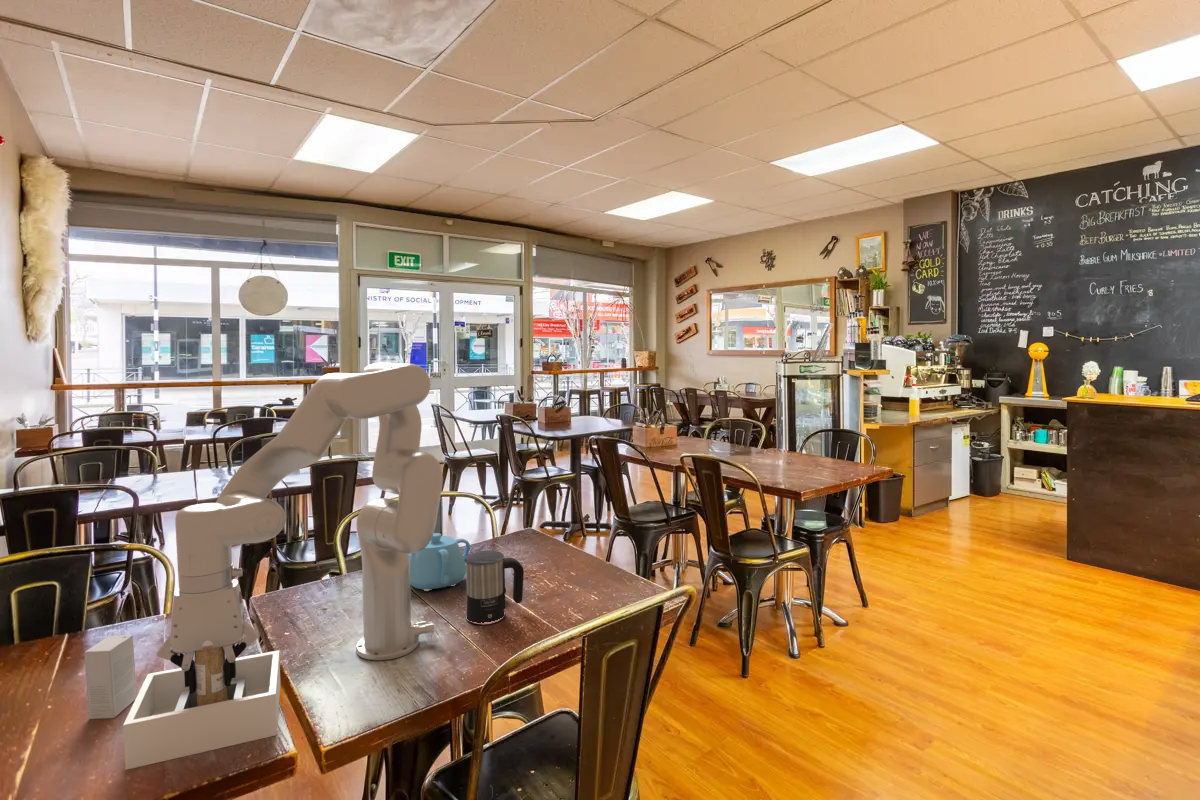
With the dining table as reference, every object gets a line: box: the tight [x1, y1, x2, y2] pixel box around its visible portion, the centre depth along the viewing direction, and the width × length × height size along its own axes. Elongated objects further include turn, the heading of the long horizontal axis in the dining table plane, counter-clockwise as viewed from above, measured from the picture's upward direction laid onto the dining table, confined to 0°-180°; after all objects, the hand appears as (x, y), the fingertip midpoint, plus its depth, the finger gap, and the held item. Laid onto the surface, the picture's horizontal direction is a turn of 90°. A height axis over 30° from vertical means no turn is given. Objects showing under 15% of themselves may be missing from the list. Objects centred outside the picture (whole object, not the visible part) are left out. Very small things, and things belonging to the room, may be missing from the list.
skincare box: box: [83, 634, 138, 720], centre depth 107 cm, size 6×4×12 cm
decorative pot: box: [409, 532, 471, 590], centre depth 166 cm, size 16×16×14 cm
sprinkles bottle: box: [194, 641, 228, 707], centre depth 103 cm, size 5×5×14 cm
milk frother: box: [464, 550, 525, 623], centre depth 149 cm, size 14×16×15 cm
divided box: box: [122, 650, 281, 771], centre depth 103 cm, size 20×16×7 cm
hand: (211, 684), depth 103 cm, fingers closed on sprinkles bottle, 4 cm apart
